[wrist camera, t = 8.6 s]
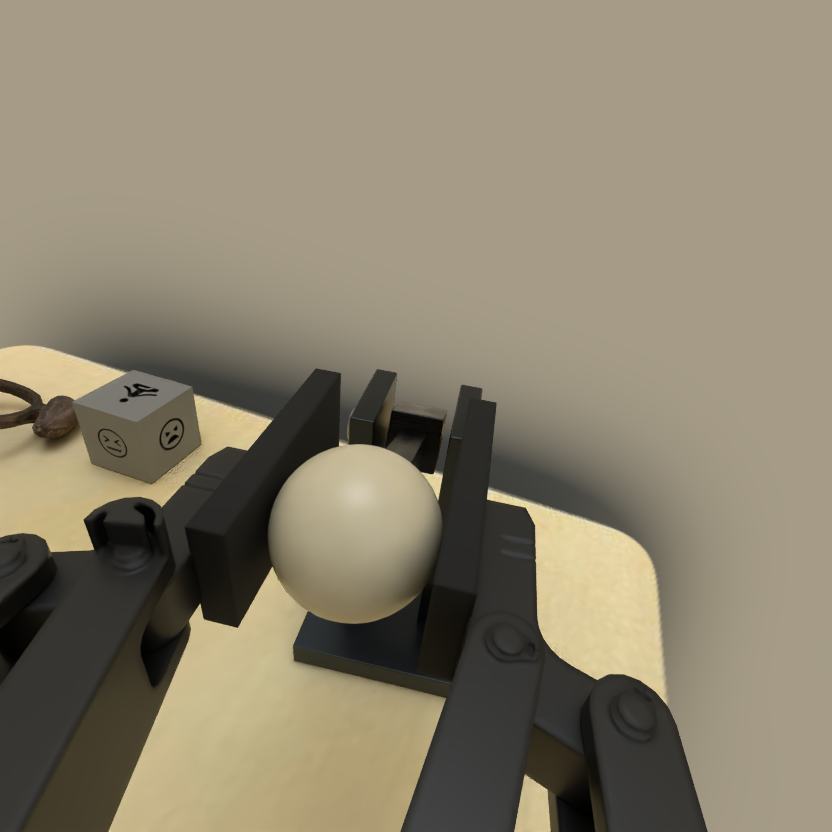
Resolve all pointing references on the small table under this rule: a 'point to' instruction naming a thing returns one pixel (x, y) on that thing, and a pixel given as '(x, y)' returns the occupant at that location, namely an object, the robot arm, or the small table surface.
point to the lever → (362, 522)
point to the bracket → (403, 631)
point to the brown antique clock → (40, 412)
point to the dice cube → (139, 425)
